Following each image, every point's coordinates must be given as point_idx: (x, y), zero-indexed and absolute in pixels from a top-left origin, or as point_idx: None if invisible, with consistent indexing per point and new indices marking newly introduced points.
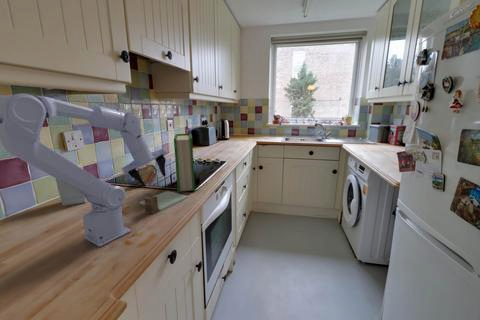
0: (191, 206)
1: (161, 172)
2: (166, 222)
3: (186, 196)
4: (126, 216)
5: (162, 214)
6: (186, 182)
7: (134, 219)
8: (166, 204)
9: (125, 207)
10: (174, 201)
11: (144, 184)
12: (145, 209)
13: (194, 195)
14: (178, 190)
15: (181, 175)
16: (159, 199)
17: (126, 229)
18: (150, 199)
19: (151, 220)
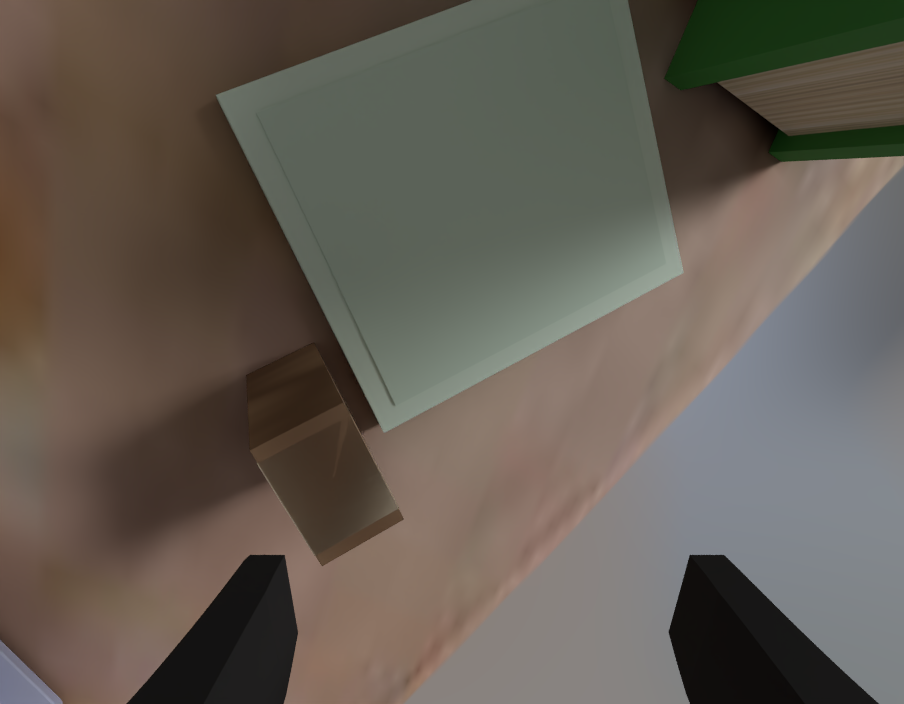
0: (608, 457)
1: (708, 624)
2: (361, 639)
3: (673, 273)
4: (23, 384)
5: None
6: (844, 91)
7: (112, 493)
8: (464, 367)
9: (9, 88)
10: (547, 330)
11: (277, 700)
12: (248, 386)
13: (733, 246)
14: (696, 77)
15: None
16: (448, 186)
17: (17, 701)
18: (313, 547)
19: None
